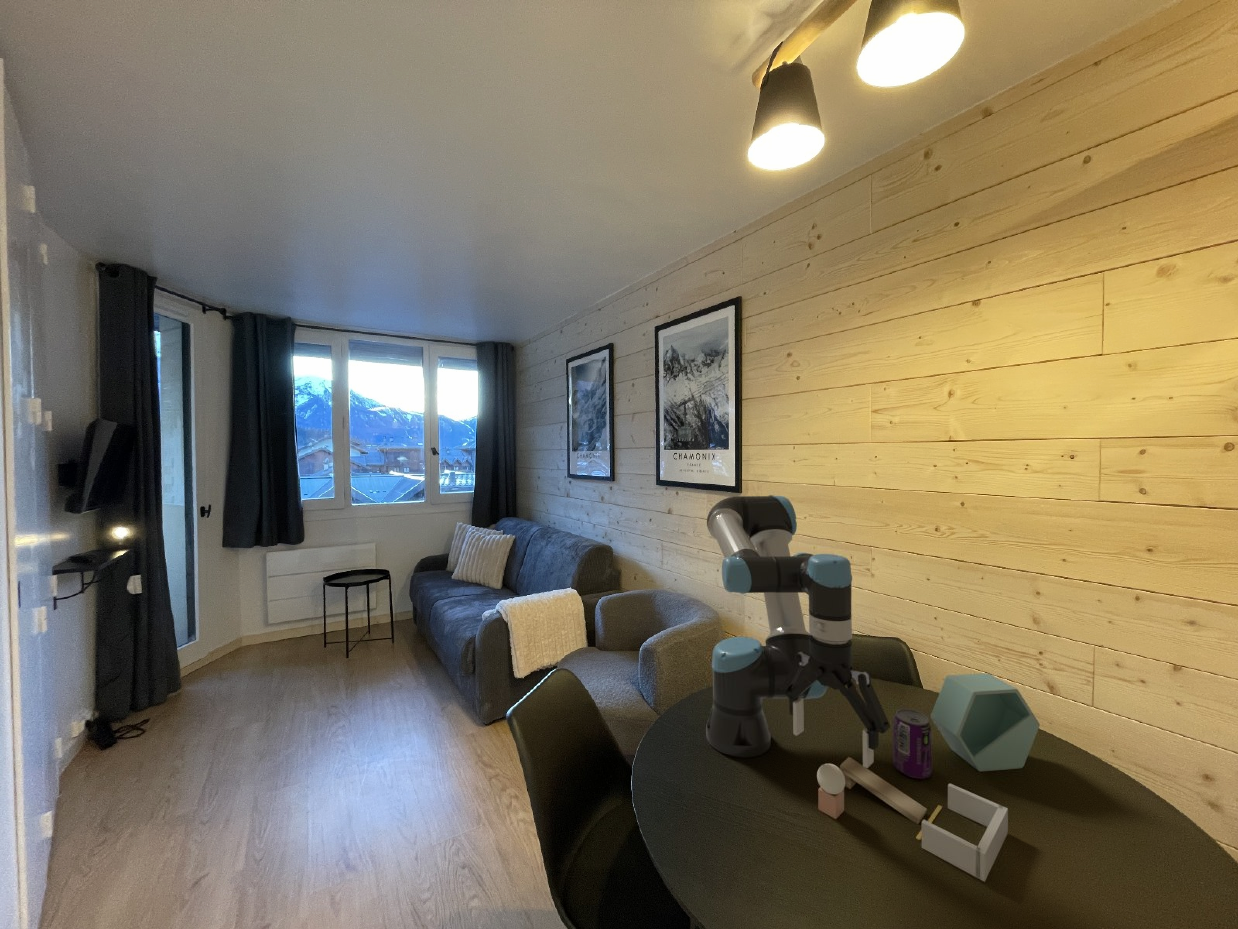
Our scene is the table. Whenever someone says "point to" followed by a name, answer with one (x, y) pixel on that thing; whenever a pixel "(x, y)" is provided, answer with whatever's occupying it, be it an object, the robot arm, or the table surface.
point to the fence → (960, 850)
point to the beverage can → (912, 743)
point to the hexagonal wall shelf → (985, 721)
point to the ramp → (881, 789)
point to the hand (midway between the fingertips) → (831, 747)
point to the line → (930, 820)
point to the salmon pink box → (831, 803)
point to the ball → (831, 779)
